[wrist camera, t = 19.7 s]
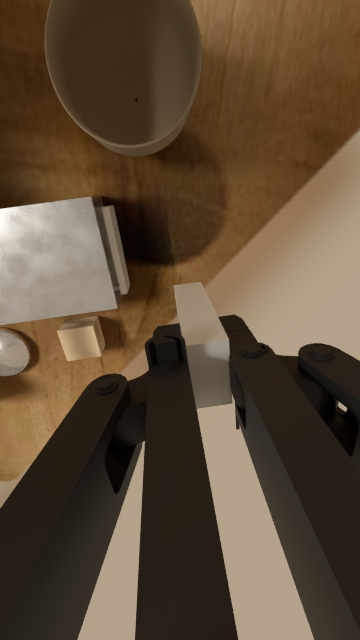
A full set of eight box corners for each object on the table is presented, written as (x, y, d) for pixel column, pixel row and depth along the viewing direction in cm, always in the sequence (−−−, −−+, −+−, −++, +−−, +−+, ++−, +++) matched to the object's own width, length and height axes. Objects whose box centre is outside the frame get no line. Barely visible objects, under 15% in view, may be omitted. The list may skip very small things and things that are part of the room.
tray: (28, 298, 39) (14, 309, 36) (-2, 220, 35) (-21, 223, 31) (130, 284, 39) (127, 293, 36) (113, 205, 35) (108, 206, 31)
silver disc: (-10, 373, 45) (-15, 379, 43) (-32, 330, 41) (-39, 335, 40) (39, 366, 45) (35, 372, 43) (21, 322, 41) (16, 327, 40)
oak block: (74, 348, 43) (67, 361, 40) (64, 320, 41) (56, 330, 38) (105, 344, 43) (101, 356, 40) (97, 315, 41) (92, 325, 38)
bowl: (153, -11, 27) (151, -113, 18) (209, 125, 32) (228, 98, 23) (51, 64, 29) (2, 6, 20) (118, 182, 34) (104, 178, 25)
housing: (20, 307, 40) (-1, 325, 34) (-18, 212, 34) (-50, 215, 29) (123, 292, 40) (117, 308, 35) (101, 196, 35) (91, 196, 29)
